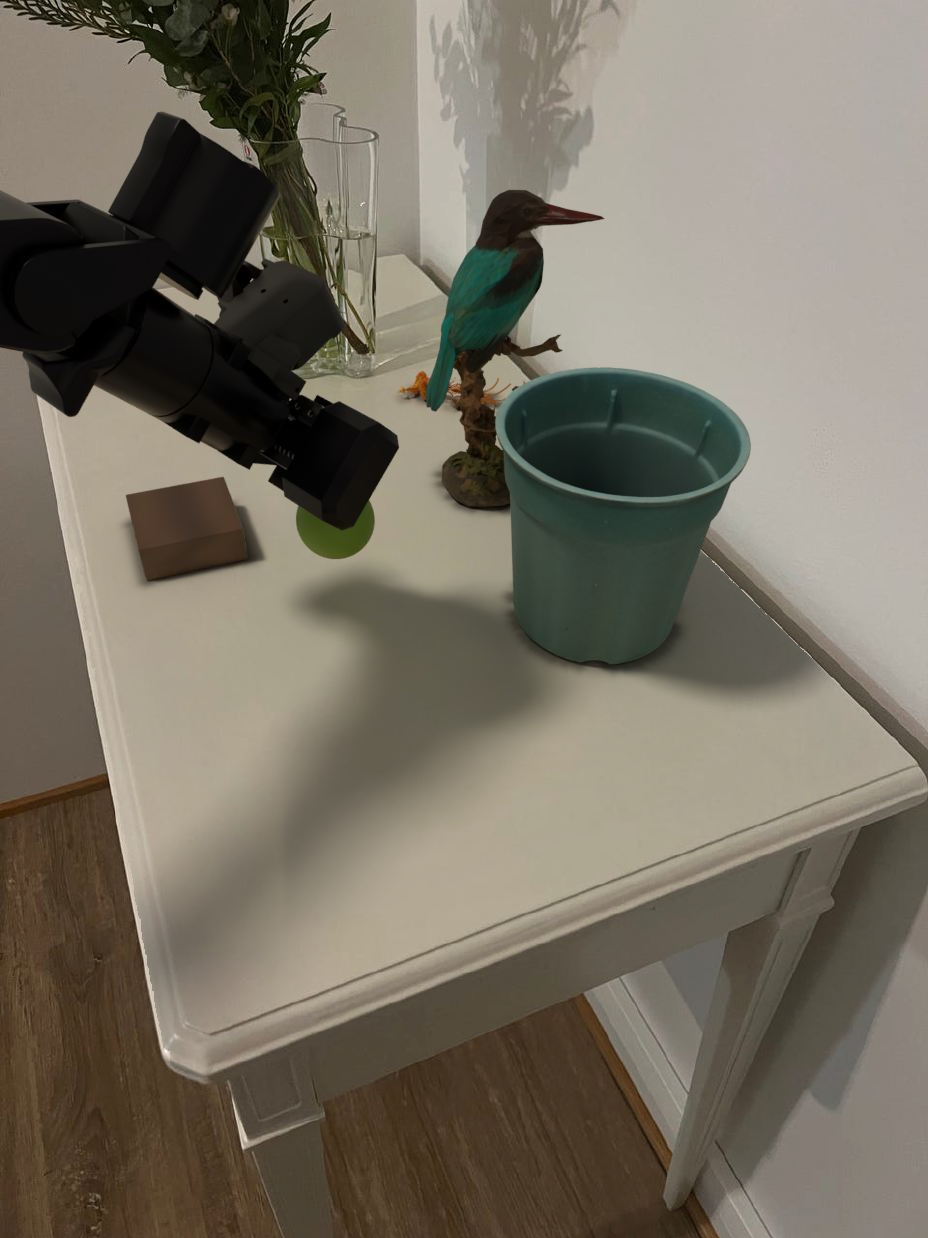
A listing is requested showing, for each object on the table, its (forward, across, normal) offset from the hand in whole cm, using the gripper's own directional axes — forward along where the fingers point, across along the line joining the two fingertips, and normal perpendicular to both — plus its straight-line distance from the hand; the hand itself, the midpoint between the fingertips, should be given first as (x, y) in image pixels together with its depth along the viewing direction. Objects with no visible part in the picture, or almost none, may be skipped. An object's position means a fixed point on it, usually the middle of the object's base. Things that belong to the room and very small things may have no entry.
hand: (341, 467), depth 63 cm
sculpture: (+23, +4, -6) cm, 24 cm away
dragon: (+29, +16, -12) cm, 35 cm away
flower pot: (+18, -14, 0) cm, 22 cm away
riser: (+6, +15, +11) cm, 20 cm away
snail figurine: (+4, 0, +6) cm, 7 cm away
